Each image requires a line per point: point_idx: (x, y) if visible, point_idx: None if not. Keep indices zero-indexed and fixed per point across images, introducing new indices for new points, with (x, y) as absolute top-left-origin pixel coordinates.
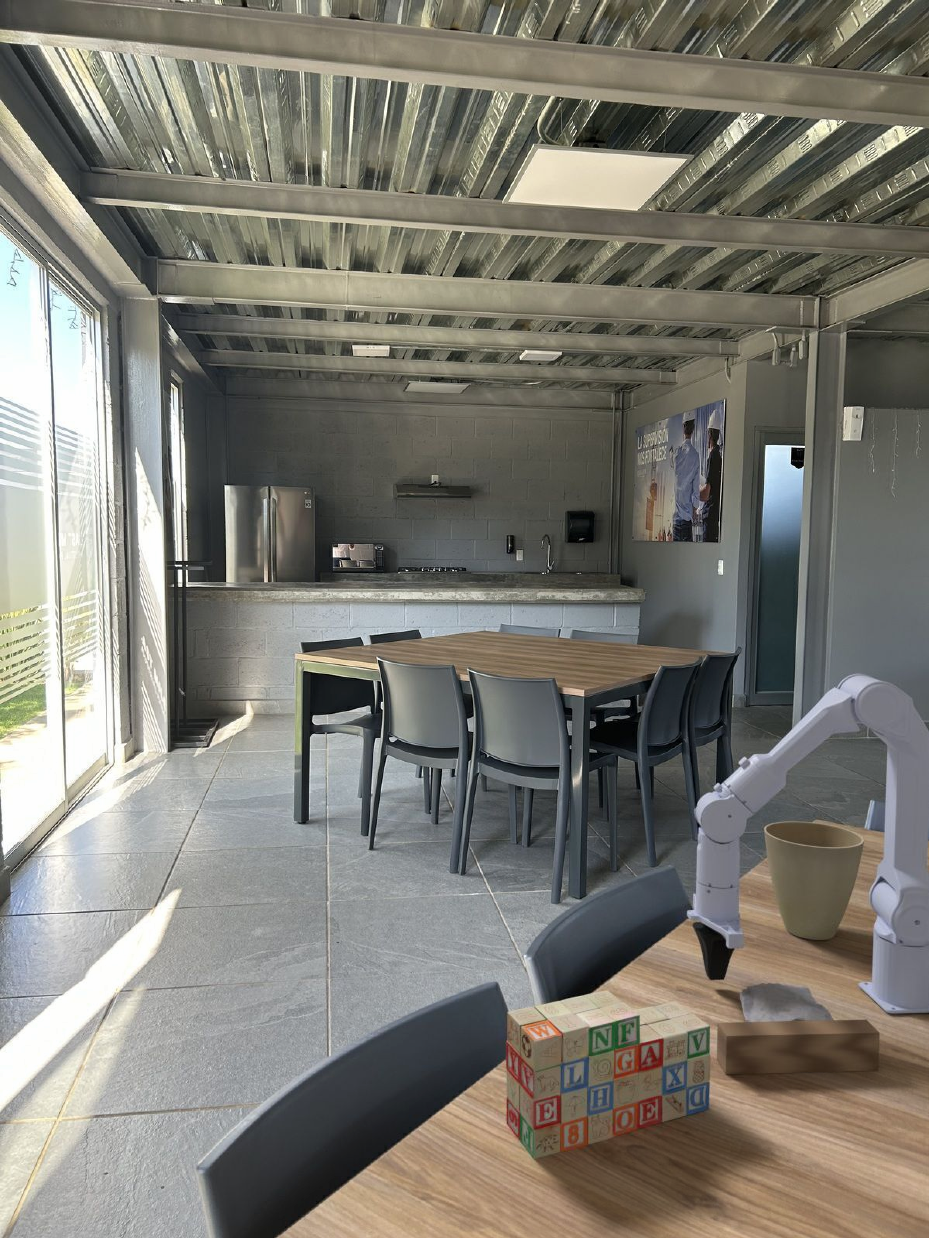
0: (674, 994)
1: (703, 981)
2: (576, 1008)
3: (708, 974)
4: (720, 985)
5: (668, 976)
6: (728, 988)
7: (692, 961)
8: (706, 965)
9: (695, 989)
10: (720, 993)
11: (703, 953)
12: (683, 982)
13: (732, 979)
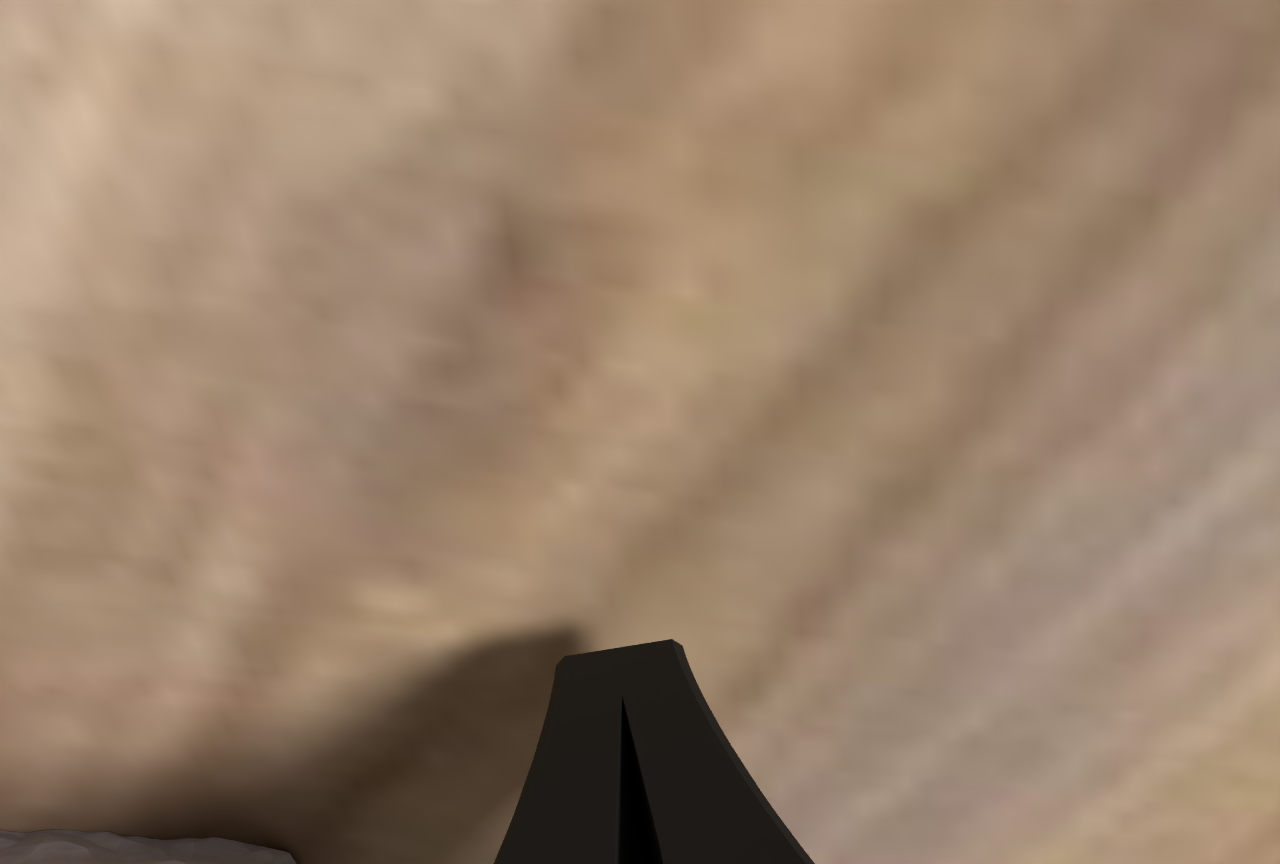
0: (366, 158)
1: (769, 542)
2: None
3: (558, 691)
4: None
5: (912, 154)
6: None
7: (1268, 495)
8: (587, 758)
9: (557, 437)
10: (496, 660)
11: (692, 859)
12: (737, 326)
13: (816, 781)
